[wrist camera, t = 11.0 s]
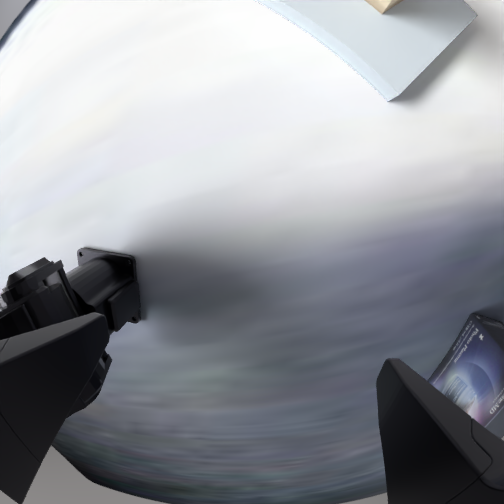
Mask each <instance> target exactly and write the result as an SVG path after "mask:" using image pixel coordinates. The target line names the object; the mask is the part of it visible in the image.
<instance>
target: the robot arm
mask: <svg viewBox="0 0 504 504" xmlns="http://www.w3.org/2000/svg"><path fill="white" fill-rule="evenodd" d="M82 254H83V255H82ZM77 256H78V264H79V266H78V267H76V268H75V269H73V270H71V271H70V272H68V273H66V274H65V271H64V269H63V267H64V266H63V264H62V261H61V260H60V261H57V262H55V263H54V262H53V261H51V262H50V261H48V260H47V259H46V258H45V257H44V258H42V259H40V260H38V261H36V262H34V263H32V264H30V265H28V266H26V267H24V268H22V269H20V270H18V271H17V272H15V273H13V274H11V275H9V277H8V281H7V285H6V287H5V288H3V289H2V290H3V292H2V293H1V294H0V490H1V491H2V492H4V493H5V494H6V495H7V496H9V497H10V498H11V499H13V500H14V501H15V502H17V503H18V504H22V503H23V501H24V499H25V497H26V494H27V492H28V490H29V488H30V486H31V484H32V482H33V480H34V477H35V476H36V473H37V471H38V469H39V467H40V465H41V463H42V461H43V459H44V457H45V455H46V454H47V452H48V450H49V448H50V446H51V444H52V442H53V440H54V439H55V437H56V435H57V433H58V431H59V430H60V428H61V426H62V424H63V423H64V421H65V419H66V418H68V417H69V416H71V415H72V414H74V413H75V412H78V411H80V410H82V409H84V408H86V406H88V405H89V404H90V403H92V402H93V401H94V400H95V399H96V397H97V396H98V395H99V393H100V391H101V388H102V385H103V383H104V380H105V377H106V375H107V372H108V370H109V367H110V364H111V362H112V359H111V357H110V356H109V354H107V353H106V351H105V348H106V346H107V344H108V342H109V338H110V335H111V334H112V333H113V332H114V331H115V332H117V331H119V330H120V329H121V328H122V327H123V326H124V324H125V323H126V322H131V323H138V322H139V321H140V319H141V317H140V309H139V308H140V299H139V288H138V282H137V277H136V263H135V259H134V258H133V257H132V256H129V255H123V254H117V253H110V252H104V251H98V250H92V249H86V248H81V249H79V250H78V251H77ZM128 260H129V261H130V262H131V264H129V262H128ZM134 317H135V318H136V319H135V318H134ZM376 387H377V401H378V419H379V429H380V436H381V443H382V450H383V457H384V465H385V474H386V484H387V495H388V504H504V441H503V440H502V439H500V438H499V437H497V436H496V435H494V434H493V433H491V432H490V431H489V430H488V429H486V428H485V427H484V426H482V425H481V424H480V423H479V422H477V421H476V420H475V419H474V418H471V416H470V415H469V414H467V413H466V412H465V411H464V410H463V409H461V408H460V407H459V406H458V405H456V404H455V403H454V402H453V401H451V400H450V399H449V398H448V397H446V396H445V395H444V394H443V393H441V392H440V391H439V390H438V389H436V388H435V387H434V386H433V385H431V384H430V383H429V382H428V381H426V380H425V379H424V378H423V377H421V376H420V375H419V374H418V373H416V372H415V371H414V370H413V369H411V368H410V367H409V366H408V365H406V364H405V363H404V362H403V361H401V360H400V359H398V358H388V359H386V361H385V362H384V364H383V367H382V369H381V371H380V373H379V375H378V378H377V382H376Z"/></svg>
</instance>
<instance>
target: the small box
mask: <svg viewBox="0 0 504 504" xmlns="http://www.w3.org/2000/svg"><path fill="white" fill-rule="evenodd" d="M428 382H429V383H430V384H431V385H433V386H434V387H435V388H436V389H438V390H439V391H440V392H441V393H443V394H444V395H445V396H446V397H448V398H449V399H450V400H451V401H453V402H454V403H455V404H456V405H458V406H459V407H460V408H461V409H463V410H464V411H465V412H466V413H467V414H469V415H470V416H471V418H474V419H475V420H476V421H477V422H479V423H480V424H481V425H482V426H484V427H485V428H486V429H488V430H489V431H490V432H491V433H493V434H494V435H496V436H497V437H499V438H500V439H501V438H502V437H503V436H504V324H503V323H502V322H500V321H496V320H495V321H494V320H491V319H488V318H485V317H483V316H481V315H476V314H471V315H470V317H469V319H468V321H467V322H466V324H465V326H464V327H463V329H462V331H461V333H460V334H459V336H458V338H457V339H456V341H455V342H454V344H453V345H452V347H451V349H450V350H449V352H448V353H447V355H446V356H445V358H444V359H443V361H442V362H441V363H440V365H439V366H438V368H437V369H436V370H435V372H434V373H433V375H432V376H431V377H430V379H429V380H428Z"/></svg>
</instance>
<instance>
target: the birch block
mask: <svg viewBox="0 0 504 504" xmlns="http://www.w3.org/2000/svg"><path fill="white" fill-rule="evenodd" d="M365 1H366V2H367V3H369V4H370V5H371V6H372V7H373V8H375V9H376V10H377V11H378V12H379V13H381V14H383V13H384V12H386V11H388V10H389V9H391V8H392V7H394V6H395V5H397V4H399V3H400V2H402V1H403V0H365Z"/></svg>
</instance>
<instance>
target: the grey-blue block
mask: <svg viewBox="0 0 504 504" xmlns="http://www.w3.org/2000/svg"><path fill="white" fill-rule="evenodd" d="M254 1H256V2H258V3H260V4H261V5H263V6H265V7H267V8H268V9H270V10H272V11H274V12H275V13H277V14H279V15H280V16H282V17H283V18H285V19H287V20H288V21H290V22H291V23H293V24H294V25H296V26H297V27H299V28H300V29H302V30H303V31H305V32H306V33H308V34H309V35H310V36H312V37H313V38H315V39H316V40H317V41H319V42H320V43H321V44H323V45H324V46H325V47H327V48H328V49H329V50H330V51H332V52H333V53H334V54H336V55H337V56H338V57H339V58H340V59H342V60H343V61H344V62H345V63H346V64H348V65H349V66H350V67H351V68H352V69H353V70H355V71H356V72H357V73H358V74H359V75H360V76H361V77H362V78H363V79H365V80H366V81H367V82H368V83H369V84H370V85H371V86H372V87H373V88H374V89H375V90H376V91H377V92H378V93H379V94H380V95H381V96H382V97H383V98H384V99H385V100H386V101H387V102H388V101H390V100H391V99H393V98H395V97H397V96H398V95H400V94H401V93H402V92H403V91H404V90H405V89H406V88H407V87H408V86H409V85H410V84H411V82H412V81H413V80H414V79H415V78H416V77H417V76H418V75H419V74H420V73H421V72H422V71H423V70H424V69H425V68H426V67H427V66H428V65H429V64H430V63H431V62H432V61H433V60H434V59H435V58H436V57H437V56H438V55H439V54H440V53H441V52H442V51H443V50H444V49H445V48H446V47H447V46H448V45H449V44H450V43H451V42H452V41H453V40H454V39H455V38H456V37H457V36H458V35H459V34H460V33H461V32H462V31H463V30H464V29H465V28H466V27H467V26H468V25H469V24H470V23H471V22H472V21H473V20H474V19H475V18H476V17H477V16H478V15H477V14H476V13H475V12H474V11H473V10H472V8H471V7H470V6H469V5H468V4H467V3H466V2H465V1H464V0H403V1H402V2H400V3H399V4H397V5H395V6H394V7H392V8H391V9H389V10H388V11H386V12H384V13H383V14H381V13H379V12H378V11H377V10H376V9H375V8H373V7H372V6H371V5H370V4H369V3H367V2H366V1H365V0H254Z"/></svg>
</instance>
